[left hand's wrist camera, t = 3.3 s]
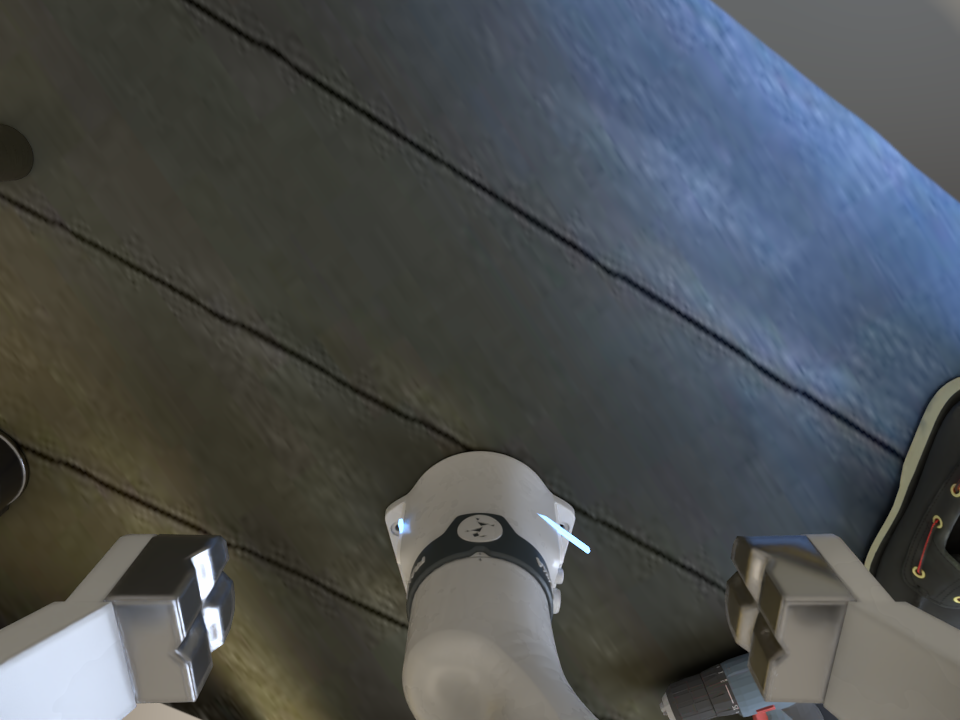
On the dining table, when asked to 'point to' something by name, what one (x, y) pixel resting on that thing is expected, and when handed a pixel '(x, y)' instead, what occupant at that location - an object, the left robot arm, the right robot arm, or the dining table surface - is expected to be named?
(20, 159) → the dark grey cylindrical bottle
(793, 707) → the power drill
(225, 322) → the dining table surface
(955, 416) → the boat shoe
